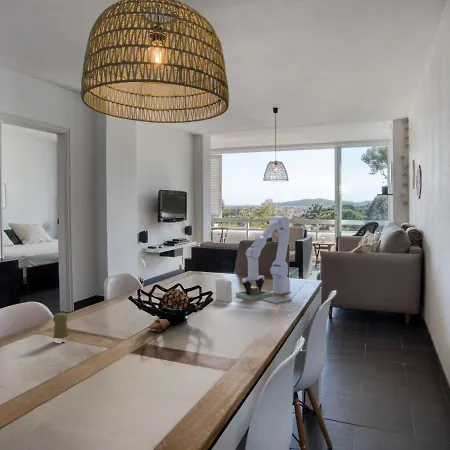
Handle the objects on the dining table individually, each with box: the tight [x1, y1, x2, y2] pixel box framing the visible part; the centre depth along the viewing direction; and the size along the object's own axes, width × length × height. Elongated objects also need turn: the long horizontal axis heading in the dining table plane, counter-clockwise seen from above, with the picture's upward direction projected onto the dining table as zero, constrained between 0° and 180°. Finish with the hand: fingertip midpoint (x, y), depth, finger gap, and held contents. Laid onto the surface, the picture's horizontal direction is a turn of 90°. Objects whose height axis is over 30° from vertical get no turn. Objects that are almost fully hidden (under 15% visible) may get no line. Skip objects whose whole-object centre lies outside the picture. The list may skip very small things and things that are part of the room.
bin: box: [235, 289, 273, 302], centre depth 218 cm, size 14×14×2 cm
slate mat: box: [261, 295, 292, 305], centre depth 208 cm, size 11×11×1 cm
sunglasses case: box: [147, 317, 171, 332], centre depth 171 cm, size 18×7×7 cm, turn 168°
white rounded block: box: [215, 277, 233, 303], centre depth 211 cm, size 10×4×12 cm, turn 39°
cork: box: [52, 312, 70, 339], centre depth 154 cm, size 6×6×11 cm
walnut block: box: [250, 285, 259, 296], centre depth 218 cm, size 4×5×5 cm
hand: (253, 293), depth 218 cm, fingers open, 7 cm apart
